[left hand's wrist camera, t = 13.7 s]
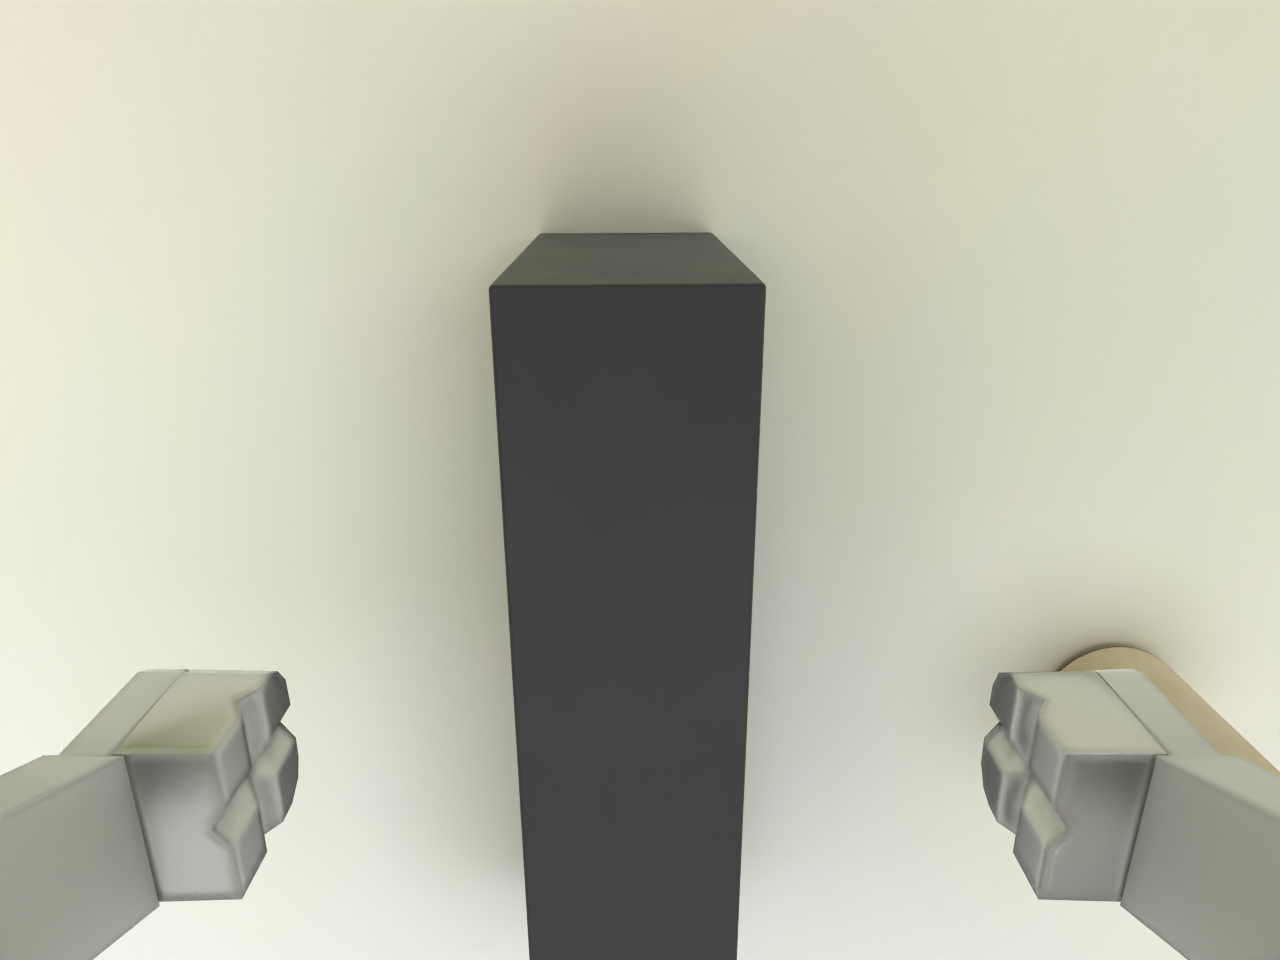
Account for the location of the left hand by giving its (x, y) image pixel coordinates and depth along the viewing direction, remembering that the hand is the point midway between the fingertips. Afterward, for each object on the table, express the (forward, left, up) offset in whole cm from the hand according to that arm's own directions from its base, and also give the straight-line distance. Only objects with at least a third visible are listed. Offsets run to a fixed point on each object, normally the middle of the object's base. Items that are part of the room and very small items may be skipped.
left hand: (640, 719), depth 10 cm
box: (+10, -2, -22) cm, 24 cm away
